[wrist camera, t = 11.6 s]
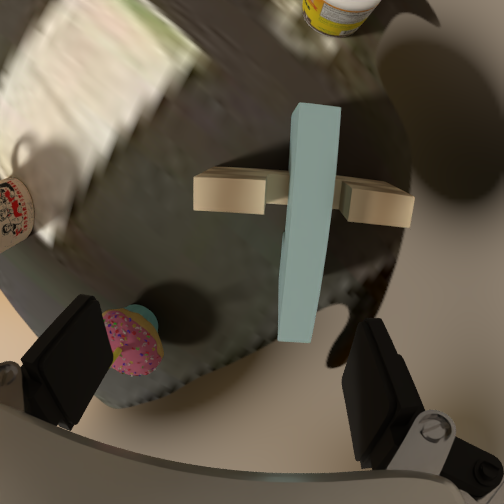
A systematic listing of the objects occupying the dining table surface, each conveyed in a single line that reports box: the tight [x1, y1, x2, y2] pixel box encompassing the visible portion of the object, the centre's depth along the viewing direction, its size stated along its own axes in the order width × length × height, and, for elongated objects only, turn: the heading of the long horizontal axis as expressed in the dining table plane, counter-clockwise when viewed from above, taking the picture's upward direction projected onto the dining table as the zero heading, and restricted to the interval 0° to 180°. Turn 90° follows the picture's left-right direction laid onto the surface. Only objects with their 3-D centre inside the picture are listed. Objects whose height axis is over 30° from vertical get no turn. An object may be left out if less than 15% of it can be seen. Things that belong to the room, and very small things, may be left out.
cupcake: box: [102, 304, 164, 376], centre depth 29 cm, size 9×8×12 cm
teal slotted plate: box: [278, 103, 341, 343], centre depth 23 cm, size 16×2×10 cm, turn 177°
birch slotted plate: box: [194, 167, 415, 228], centre depth 24 cm, size 16×2×7 cm, turn 87°
